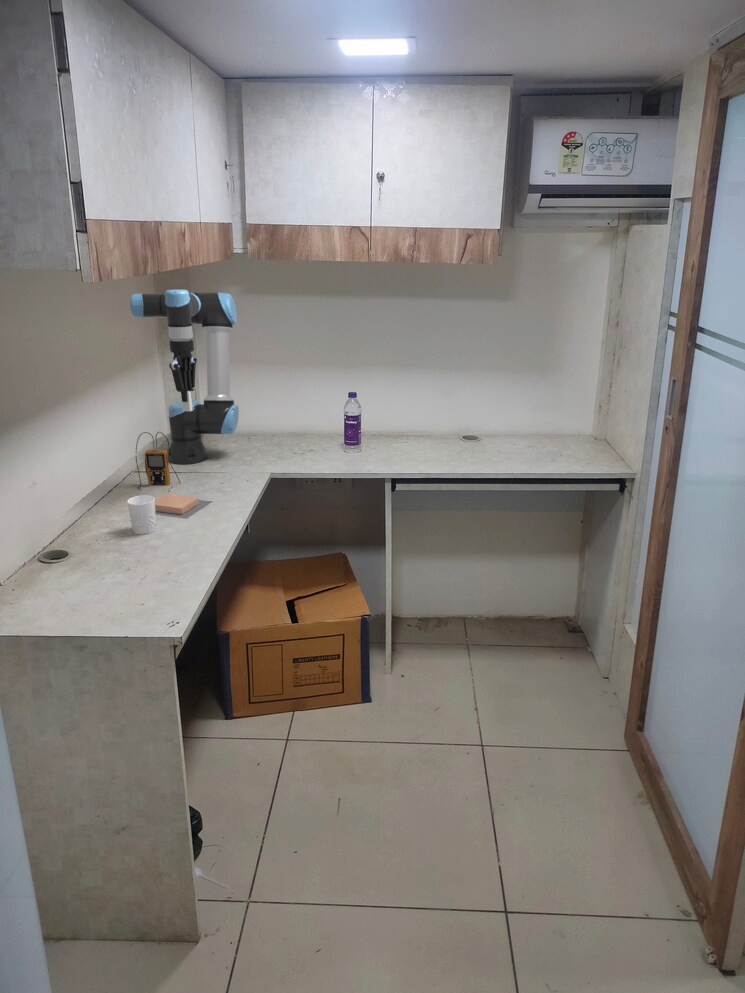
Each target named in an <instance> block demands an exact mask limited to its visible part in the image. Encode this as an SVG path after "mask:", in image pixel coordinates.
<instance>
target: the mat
mask: <svg viewBox="0 0 745 993" xmlns="http://www.w3.org/2000/svg"><path fill="white" fill-rule="evenodd" d="M212 503H213V501H211V500H204V499H203V500H201V499H199V504H198V505H196V506H195V507H193V508H192V509H190V510H189V511H187V512H185V513H184V514H174V513H167V512H159V511H155V514H156V516H157V515H158V516H165V517H172V518H179V519H185V520H188V519H189V518H190V517H193V515H195V514H197V513H198V512H199V511H201V510H202V509H204V508H205V507H207V506H209V505H210V504H212Z"/></svg>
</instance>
